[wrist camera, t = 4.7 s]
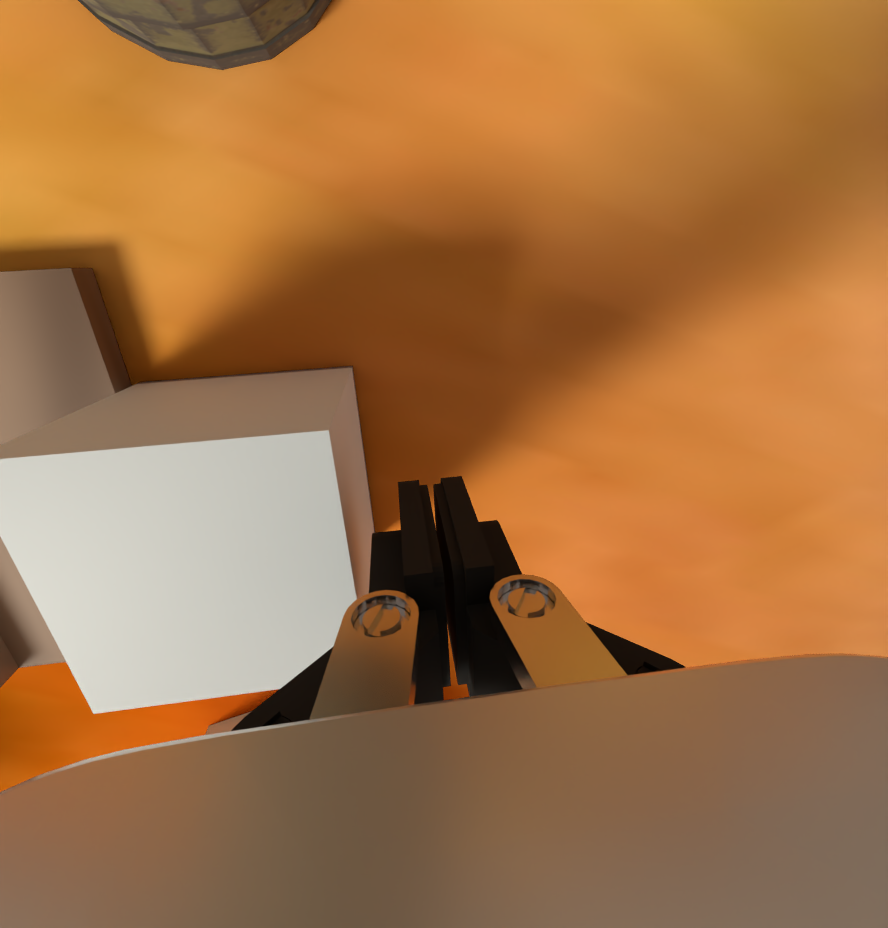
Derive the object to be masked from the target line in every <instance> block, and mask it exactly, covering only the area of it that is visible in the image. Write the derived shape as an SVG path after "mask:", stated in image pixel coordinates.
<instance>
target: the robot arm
mask: <svg viewBox="0 0 888 928" xmlns="http://www.w3.org/2000/svg"><path fill="white" fill-rule="evenodd" d="M398 488H399V505H400V522H401V530H397V531H388V532H378V533H372V541H371V560H370V579H369V594H366V595H364V596H362V597H360V598H358V599H357V600H355V601H354V602H353V603H352V604H351V605H350V606H349V607H348V608H347V610H346V612H345V614H344V616H343V619H342V622H341V625H340V628H339V631H338V634H337V637H336V640H335V643H334V646H333V647H332V648H331V649H330V650H328V651H327V652H326V653H325V654H323V655H322V656H321V657H320V658H318V659H317V660H316V661H315V662H313V663H312V664H311V665H310V666H308V667H307V668H306V669H304V670H303V671H302V672H301V673H299V674H298V675H297V676H296V677H294V678H293V679H292V680H291V681H289V682H288V683H287V684H286V685H284V686H283V687H282V688H281V689H279V690H278V691H277V692H276V693H274V694H273V695H272V696H271V697H269V698H268V699H267V700H265V701H264V702H263V703H262V704H260V705H259V706H258V707H257V708H255V709H254V710H253V711H252V712H250V713H249V714H248V715H247V716H245V717H244V718H243V719H242V720H241V721H240V722H239V723H238V724H237V725H236V726H235V727H234V728H233V729H232V730H231V731H229V732H222V733H215V734H209V735H203V736H197V737H191V738H186V739H180V740H175V741H169V742H164V743H158V744H153V745H147V746H142V747H136V748H131V749H125V750H121V751H117V752H113V753H109V754H105V755H101V756H97V757H93V758H89V759H85V760H82V761H79V762H76V763H73V764H70V765H67V766H64V767H61V768H59V769H56V770H53V771H50V772H47V773H44V774H41V775H38V776H36V777H34V778H31V779H29V780H27V781H24V782H22V783H20V784H18V785H15V786H13V787H11V788H8V789H6V790H4V791H2V792H0V928H888V657H882V656H869V655H855V654H804V655H794V656H783V657H773V658H762V659H752V660H741V661H734V662H727V663H719V664H711V665H703V666H695V667H687V668H686V667H684V666H683V665H681V664H679V663H677V662H675V661H674V660H672V659H670V658H667V657H665V656H663V655H661V654H658V653H656V652H654V651H651V650H649V649H647V648H644V647H642V646H640V645H637V644H635V643H633V642H630V641H628V640H626V639H624V638H621V637H619V636H617V635H614V634H612V633H610V632H607V631H605V630H603V629H600V628H598V627H596V626H593V625H591V624H589V623H587V622H585V621H584V620H583V618H582V617H581V616H580V615H579V613H578V612H577V611H576V609H575V608H574V607H573V606H572V604H571V603H570V602H569V601H568V599H567V598H566V597H565V596H564V594H563V593H562V592H561V590H560V589H559V588H558V587H556V586H555V585H554V584H553V583H552V582H550V581H548V580H546V579H544V578H541V577H538V576H534V575H525V574H522V573H521V571H520V569H519V566H518V564H517V562H516V560H515V557H514V555H513V553H512V551H511V549H510V546H509V544H508V542H507V540H506V537H505V535H504V533H503V531H502V528H501V526H500V524H499V522H498V521H497V520H494V521H484V522H478V520H477V517H476V514H475V511H474V509H473V506H472V503H471V501H470V498H469V495H468V492H467V490H466V487H465V484H464V481H463V479H462V476H458V477H447V478H441V484H434V485H433V488H434V505H435V520H436V528H435V523H434V517H433V512H432V507H431V502H430V497H429V491H428V486H427V485H420V486H419V480H415V481H405V482H398ZM447 624H448V630H449V636H450V642H451V647H452V653H453V659H454V665H455V670H456V676H457V682H458V685H461V684H467V686H468V691H469V696H470V697H465V698H458V699H451V700H444V699H443V687H447V686H451V682H450V665H449V648H448V631H447Z"/></svg>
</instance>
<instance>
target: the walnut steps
mask: <svg viewBox="0 0 888 928" xmlns="http://www.w3.org/2000/svg"><path fill="white" fill-rule="evenodd" d="M131 386H132V385H131V382H130V379H129V376H128V373H127V370H126V368H125V365H124V362H123V359H122V356H121V353H120V350H119V347H118V344H117V341H116V338H115V335H114V332H113V329H112V326H111V323H110V320H109V317H108V314H107V311H106V308H105V305H104V302H103V299H102V296H101V293H100V290H99V287H98V284H97V281H96V278H95V275H94V272H93V269H92V268H62V269H44V270H26V271H8V272H0V445H1V444H4V443H6V442H8V441H10V440H13V439H15V438H17V437H19V436H21V435H24V434H26V433H28V432H30V431H33V430H35V429H37V428H39V427H42V426H44V425H46V424H48V423H50V422H53V421H55V420H57V419H59V418H62V417H64V416H66V415H68V414H71V413H73V412H75V411H77V410H79V409H82V408H84V407H86V406H88V405H91V404H93V403H95V402H97V401H100V400H102V399H104V398H106V397H108V396H111V395H113V394H115V393H117V392H120V391H122V390H124V389H126V388H129V387H131ZM60 662H66V660H65V658H64V656H63V655H62V653H61V651H60V649H59V647H58V645H57V643H56V641H55V639H54V637H53V636H52V634H51V632H50V630H49V628H48V626H47V624H46V622H45V620H44V618H43V617H42V615H41V613H40V611H39V609H38V607H37V605H36V603H35V601H34V599H33V598H32V596H31V594H30V592H29V590H28V588H27V586H26V584H25V582H24V580H23V579H22V577H21V575H20V573H19V571H18V569H17V567H16V565H15V563H14V561H13V560H12V558H11V556H10V554H9V552H8V550H7V548H6V546H5V544H4V542H3V541H2V539H1V537H0V687H1V686H2V685H3V684H4V683H5V682H6V681H7V680H8V679H9V678H10V677H11V676H12V674H13V673H14V672H15V671H16V670H17V669H18V668H20V667H28V666H36V665H44V664H52V663H60Z"/></svg>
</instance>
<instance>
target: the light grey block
mask: <svg viewBox="0 0 888 928" xmlns="http://www.w3.org/2000/svg"><path fill="white" fill-rule="evenodd" d="M372 533H375V528H374V521H373V513H372V506H371V498H370V491H369V484H368V476H367V469H366V461H365V454H364V446H363V439H362V432H361V424H360V417H359V409H358V402H357V395H356V387H355V380H354V372H353V366H343V367H330V368H317V369H304V370H291V371H278V372H265V373H251V374H238V375H225V376H212V377H199V378H186V379H173V380H160V381H146V382H140V383H137V384H135V385H133V386H131V387H129V388H126V389H124V390H122V391H120V392H117V393H115V394H113V395H111V396H108V397H106V398H104V399H102V400H100V401H97V402H95V403H93V404H91V405H88V406H86V407H84V408H82V409H79V410H77V411H75V412H73V413H71V414H68V415H66V416H64V417H62V418H59V419H57V420H55V421H53V422H50V423H48V424H46V425H44V426H42V427H39V428H37V429H35V430H33V431H30V432H28V433H26V434H24V435H21V436H19V437H17V438H15V439H13V440H10V441H8V442H6V443H4V444H1V445H0V537H1V539H2V541H3V542H4V544H5V546H6V548H7V550H8V552H9V554H10V556H11V558H12V560H13V561H14V563H15V565H16V567H17V569H18V571H19V573H20V575H21V577H22V579H23V580H24V582H25V584H26V586H27V588H28V590H29V592H30V594H31V596H32V598H33V599H34V601H35V603H36V605H37V607H38V609H39V611H40V613H41V615H42V617H43V618H44V620H45V622H46V624H47V626H48V628H49V630H50V632H51V634H52V636H53V637H54V639H55V641H56V643H57V645H58V647H59V649H60V651H61V653H62V655H63V656H64V658H65V660H66V662H67V664H68V666H69V668H70V670H71V672H72V674H73V675H74V677H75V679H76V681H77V683H78V685H79V687H80V689H81V691H82V693H83V694H84V696H85V698H86V700H87V702H88V704H89V706H90V708H91V710H92V712H93V713H94V714H96V713H104V712H111V711H119V710H126V709H134V708H141V707H149V706H156V705H163V704H171V703H178V702H186V701H193V700H201V699H208V698H216V697H223V696H231V695H238V694H246V693H253V692H261V691H268V690H276V689H281V688H282V687H283V686H284V685H286V684H287V683H288V682H289V681H291V680H292V679H293V678H294V677H296V676H297V675H298V674H299V673H301V672H302V671H303V670H304V669H306V668H307V667H308V666H310V665H311V664H312V663H313V662H315V661H316V660H317V659H318V658H320V657H321V656H322V655H323V654H325V653H326V652H327V651H328V650H330V649H331V648H332V647H333V646H334V643H335V640H336V637H337V634H338V631H339V628H340V625H341V622H342V619H343V616H344V614H345V612H346V610H347V608H348V607H349V606H350V605H351V604H352V603H353V602H354V601H355V600H357V599H358V598H360V597H362V596H364V595H366V594H369V579H370V560H371V541H372Z"/></svg>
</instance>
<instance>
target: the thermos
mask: <svg viewBox="0 0 888 928" xmlns="http://www.w3.org/2000/svg"><path fill="white" fill-rule="evenodd" d="M78 1H79V2H80V3H81V4H82V5H84V6H85V7H86V8H87V9H88V10H89V11H90V12H91V13H92V14H93V15H94V16H96V17H97V18H98V19H99V20H100V21H101V22H102V23H103V24H105V25H106V26H107V27H108V28H109V29H110V30H111V31H113V32H115V33H117V34H119V35H120V36H122V37H124V38H126V39H128V40H130V41H132V42H134V43H136V44H137V45H139V46H141V47H143V48H145V49H147V50H149V51H151V52H153V53H155V54H156V55H158V56H160V57H162V58H164V59H166V60H168V61H173V62H179V63H185V64H191V65H197V66H203V67H208V68H214V69H220V70H224V69H228V68H233V67H237V66H242V65H246V64H251V63H255V62H260V61H264V60H269V59H272V58H273V57H275V56H276V55H278V54H279V53H280V52H282V51H283V50H284V49H286V48H287V47H289V46H290V45H291V44H293V43H294V42H296V41H297V40H298V39H300V38H301V37H302V36H304V35H305V34H307V33H308V32H309V31H311V30H312V29H313V28H314V27H315V25H316V23H317V22H318V20H319V19H320V17H321V16H322V14H323V13H324V11H325V10H326V8H327V6H328V5H329V3H330V2H331V0H78Z"/></svg>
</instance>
